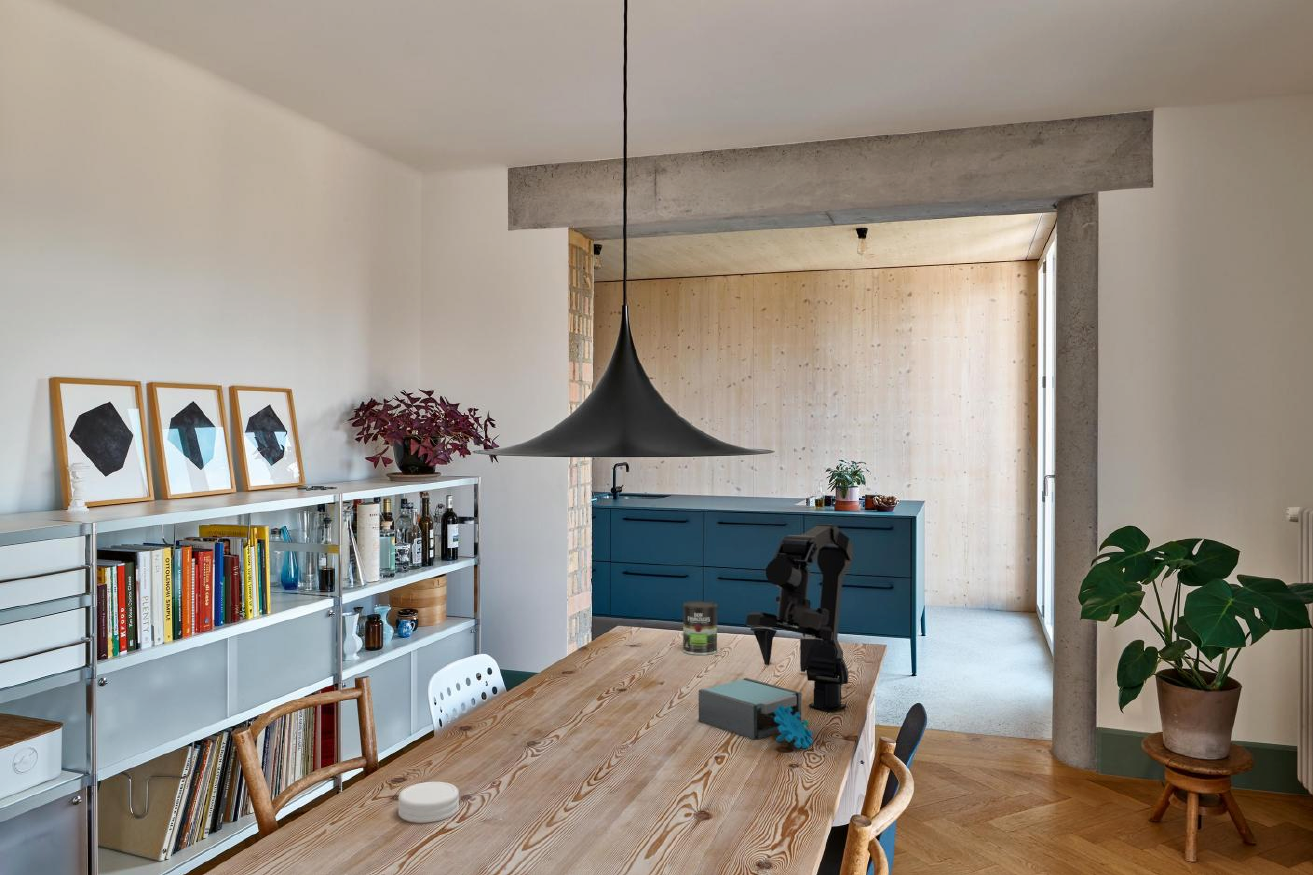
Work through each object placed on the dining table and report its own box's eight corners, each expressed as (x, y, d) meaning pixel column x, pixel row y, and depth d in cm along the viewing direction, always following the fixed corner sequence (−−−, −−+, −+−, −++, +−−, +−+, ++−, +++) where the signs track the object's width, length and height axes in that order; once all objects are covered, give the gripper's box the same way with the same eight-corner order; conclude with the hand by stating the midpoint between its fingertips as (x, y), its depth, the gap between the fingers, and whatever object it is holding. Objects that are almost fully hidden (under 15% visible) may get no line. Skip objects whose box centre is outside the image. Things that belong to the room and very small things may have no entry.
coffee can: (715, 656, 265) (715, 607, 265) (680, 654, 267) (680, 606, 267) (719, 647, 275) (719, 601, 275) (685, 646, 277) (685, 600, 277)
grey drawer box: (746, 707, 214) (746, 677, 214) (803, 724, 202) (803, 692, 202) (698, 721, 204) (698, 689, 204) (755, 740, 191) (755, 706, 191)
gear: (796, 747, 182) (770, 704, 187) (777, 764, 184) (751, 721, 190) (825, 741, 190) (799, 700, 195) (806, 757, 192) (781, 716, 198)
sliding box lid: (742, 687, 214) (742, 679, 214) (801, 703, 201) (801, 694, 201) (703, 698, 205) (703, 689, 205) (761, 715, 192) (761, 705, 192)
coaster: (402, 828, 148) (402, 806, 148) (394, 805, 157) (394, 785, 157) (464, 818, 152) (464, 797, 152) (452, 796, 161) (452, 777, 161)
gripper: (779, 583, 184) (770, 662, 180) (852, 601, 192) (845, 677, 187) (749, 585, 194) (739, 660, 189) (819, 602, 201) (812, 674, 197)
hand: (785, 668), depth 191 cm, fingers open, 9 cm apart
